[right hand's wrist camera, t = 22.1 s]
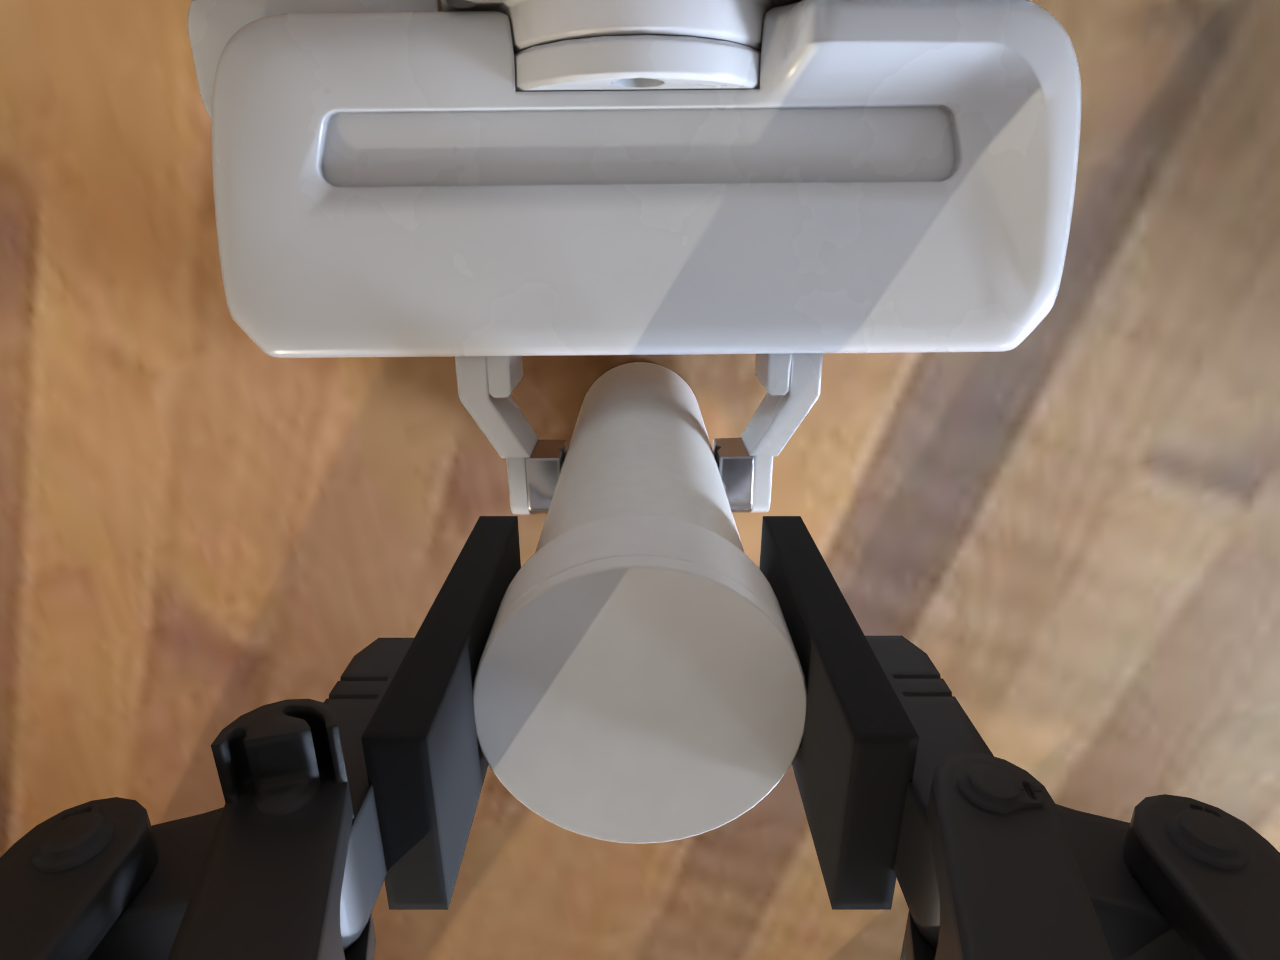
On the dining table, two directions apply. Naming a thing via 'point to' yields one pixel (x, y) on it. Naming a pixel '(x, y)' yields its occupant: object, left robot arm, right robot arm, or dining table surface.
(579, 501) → the white cylinder
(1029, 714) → the dining table surface
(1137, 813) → the right robot arm
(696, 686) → the white round canister
